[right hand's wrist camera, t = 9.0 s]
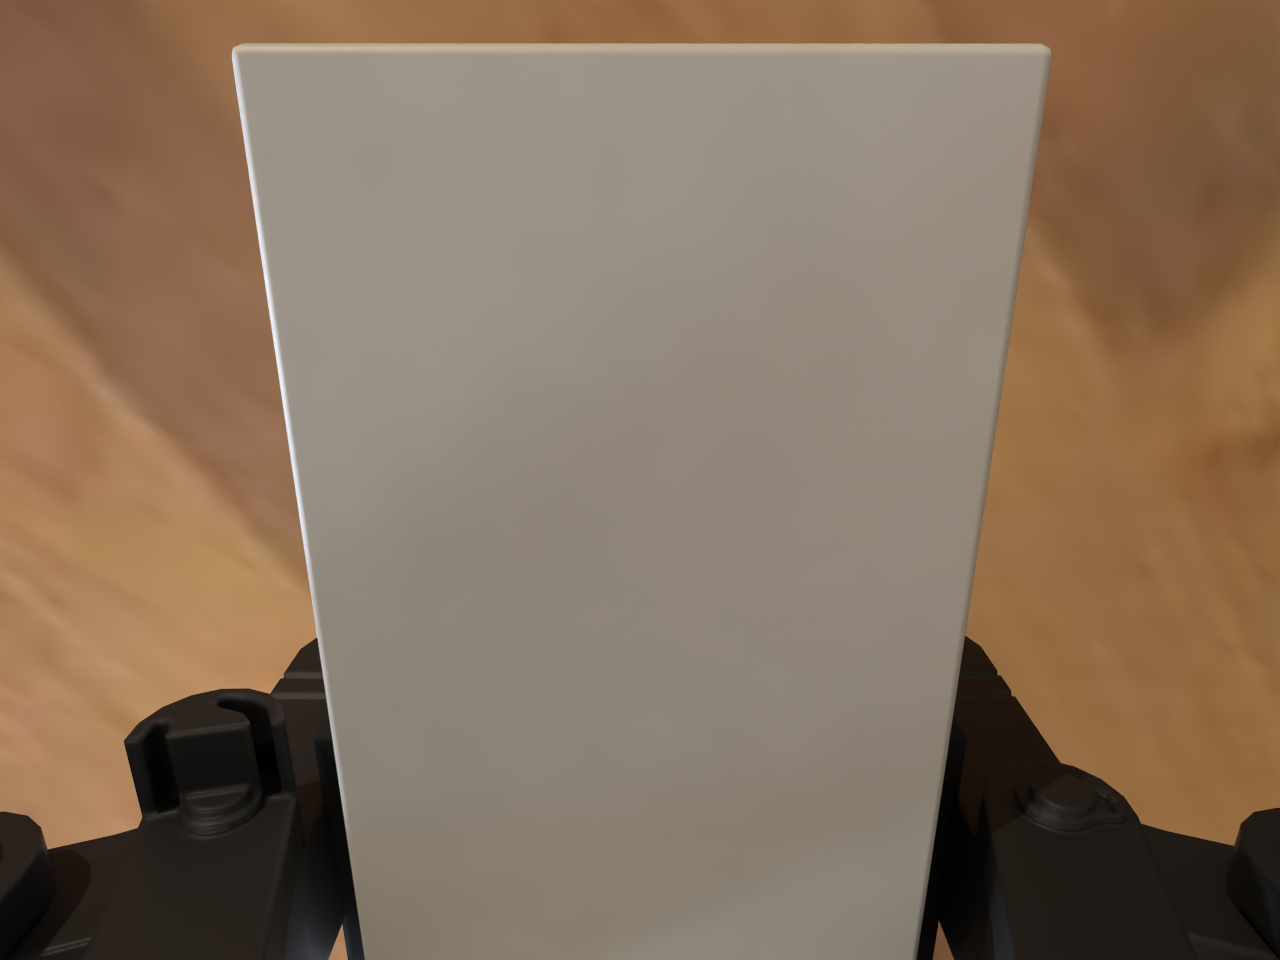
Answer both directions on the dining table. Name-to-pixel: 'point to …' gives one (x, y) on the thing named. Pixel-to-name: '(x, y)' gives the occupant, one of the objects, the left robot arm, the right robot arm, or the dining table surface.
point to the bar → (641, 471)
